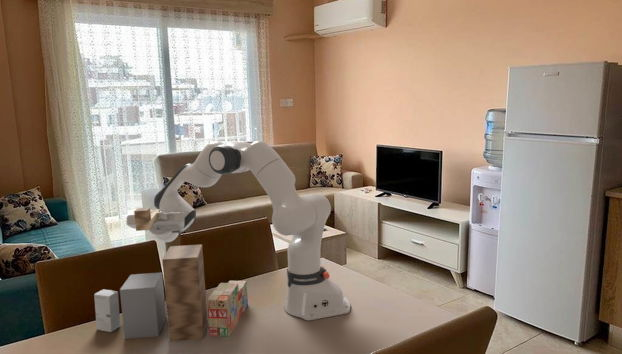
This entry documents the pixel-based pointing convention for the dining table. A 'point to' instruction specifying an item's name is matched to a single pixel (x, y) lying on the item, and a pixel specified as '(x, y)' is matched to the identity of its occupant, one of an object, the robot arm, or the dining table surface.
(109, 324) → the skincare box
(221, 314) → the stack of blocks
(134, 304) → the pale grey upright box
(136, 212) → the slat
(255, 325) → the dining table surface
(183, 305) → the tall stand
